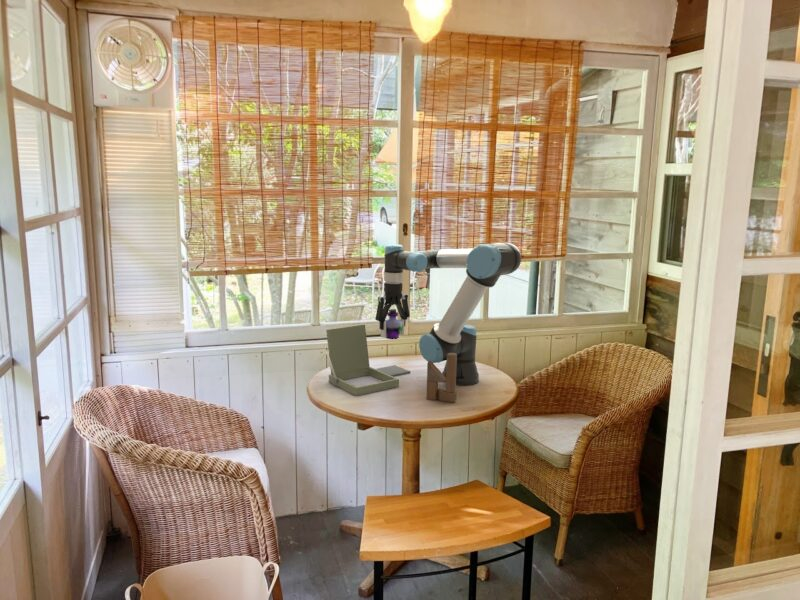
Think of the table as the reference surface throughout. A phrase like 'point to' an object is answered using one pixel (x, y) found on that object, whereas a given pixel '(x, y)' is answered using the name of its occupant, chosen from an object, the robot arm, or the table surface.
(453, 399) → the wooden block
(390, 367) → the pad
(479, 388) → the table surface
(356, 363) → the case
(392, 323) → the potion bottle
